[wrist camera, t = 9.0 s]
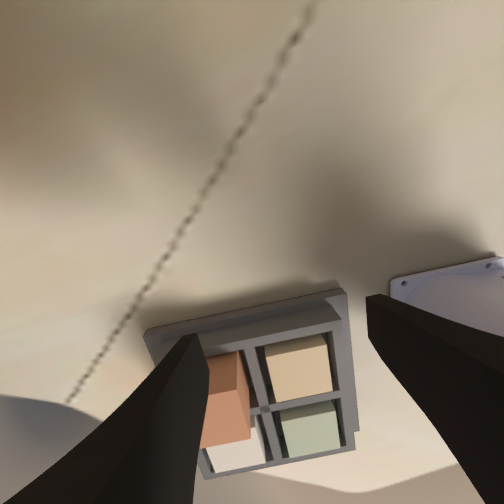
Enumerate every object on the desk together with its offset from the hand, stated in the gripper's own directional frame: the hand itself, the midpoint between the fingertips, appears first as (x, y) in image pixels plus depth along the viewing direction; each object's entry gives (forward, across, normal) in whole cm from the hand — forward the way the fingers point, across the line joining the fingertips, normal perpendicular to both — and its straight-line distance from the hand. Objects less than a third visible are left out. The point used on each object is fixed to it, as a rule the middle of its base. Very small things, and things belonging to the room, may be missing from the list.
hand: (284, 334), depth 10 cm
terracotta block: (+8, +6, +8) cm, 13 cm away
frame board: (+9, +2, +12) cm, 15 cm away
